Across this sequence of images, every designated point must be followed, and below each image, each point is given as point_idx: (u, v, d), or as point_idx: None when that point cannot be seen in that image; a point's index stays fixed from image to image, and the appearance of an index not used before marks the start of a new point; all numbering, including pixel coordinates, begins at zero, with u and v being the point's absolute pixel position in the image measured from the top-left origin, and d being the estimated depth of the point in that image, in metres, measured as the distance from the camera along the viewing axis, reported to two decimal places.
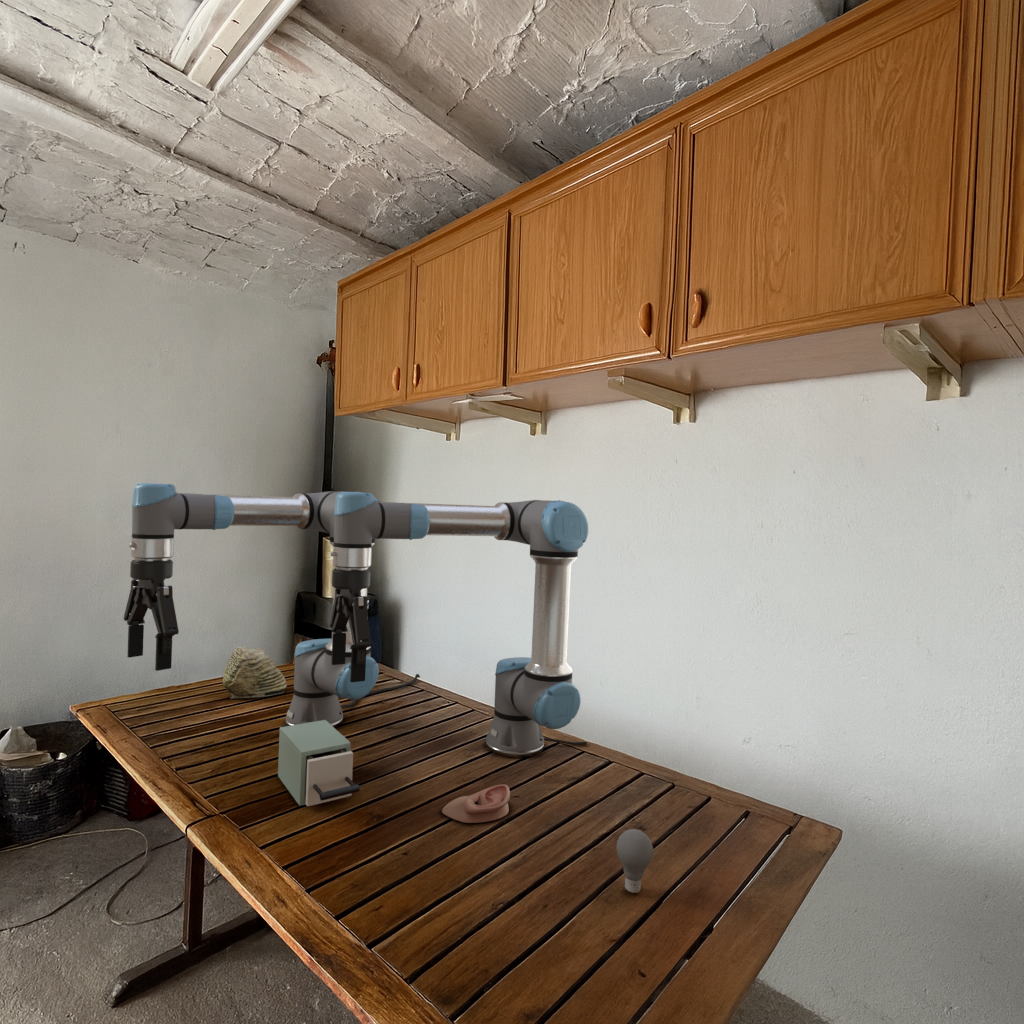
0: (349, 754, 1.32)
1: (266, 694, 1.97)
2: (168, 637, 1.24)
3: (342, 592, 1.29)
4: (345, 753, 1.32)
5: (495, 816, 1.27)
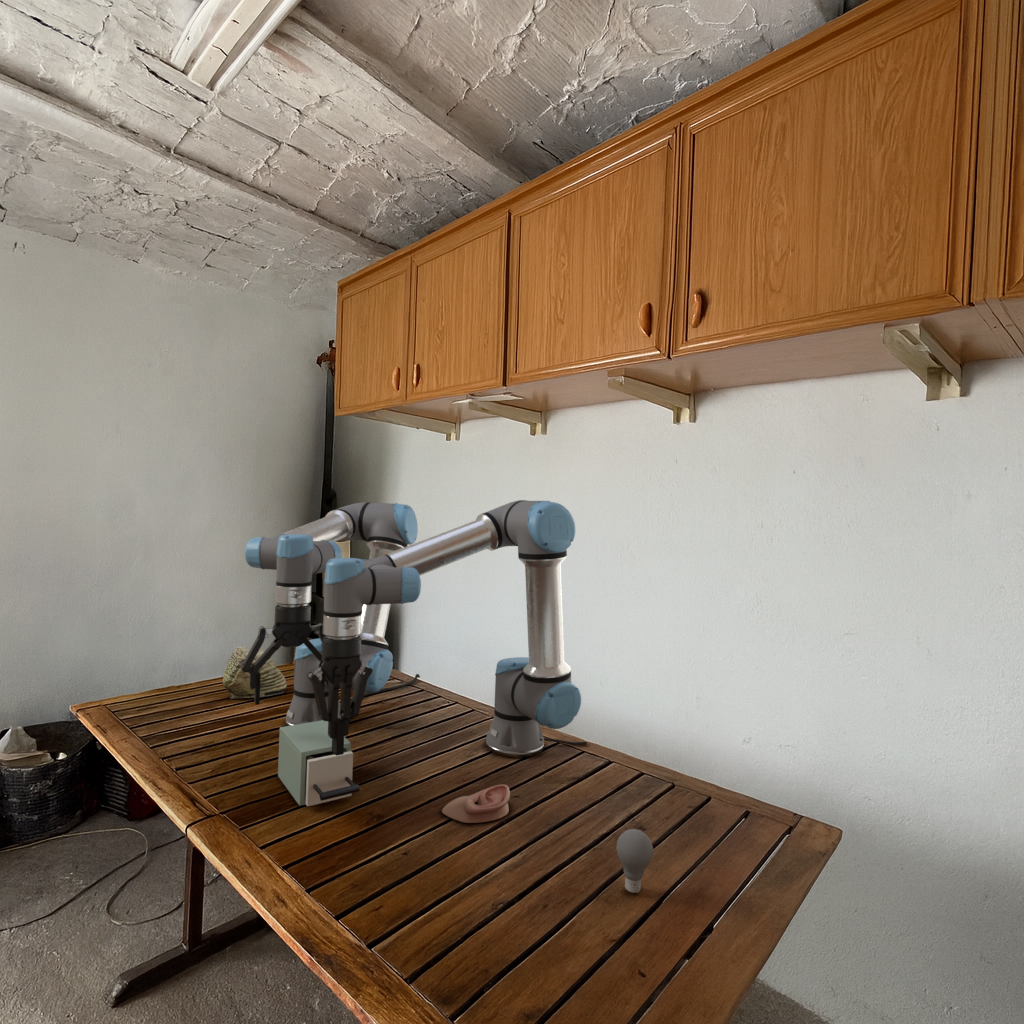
0: (349, 754, 1.32)
1: (266, 694, 1.97)
2: None
3: (333, 663, 1.25)
4: (345, 753, 1.32)
5: (495, 816, 1.27)
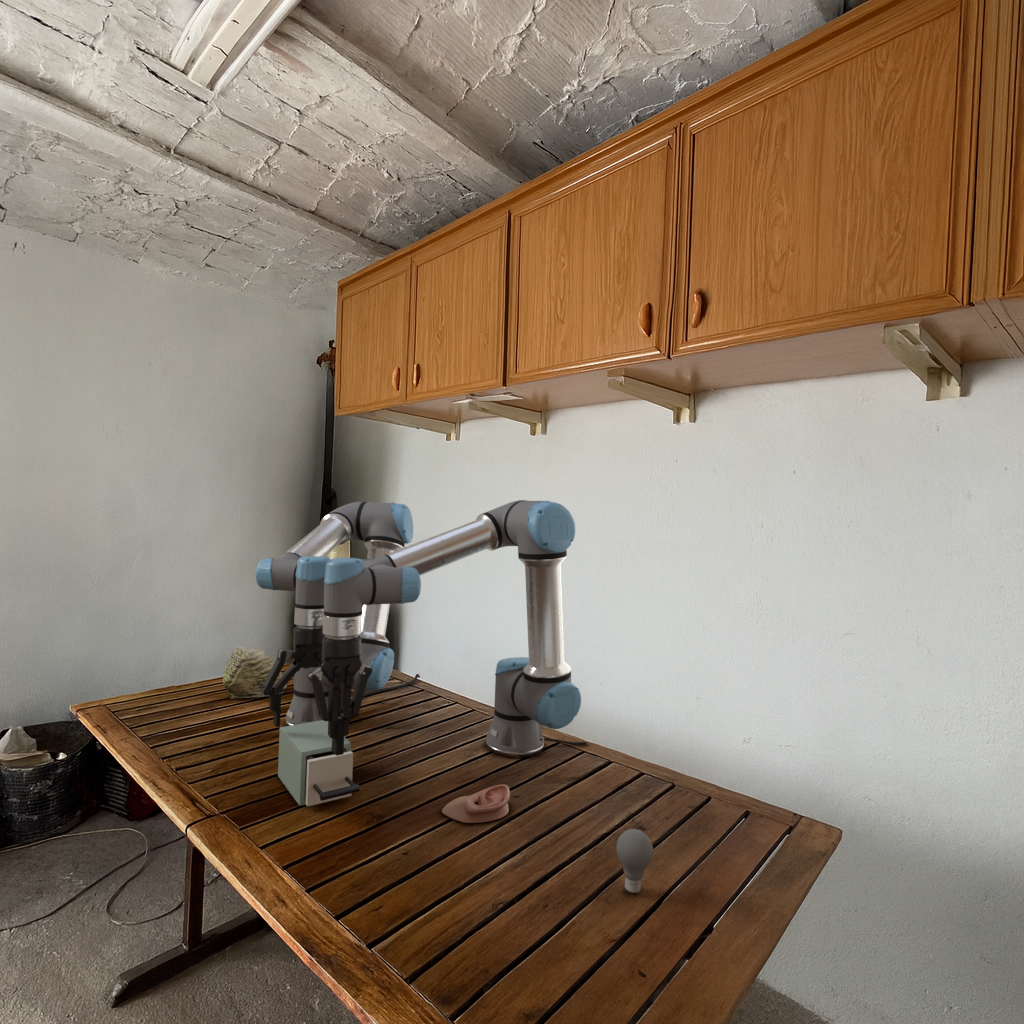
0: (349, 754, 1.32)
1: None
2: None
3: (333, 663, 1.25)
4: (345, 753, 1.32)
5: (495, 816, 1.27)
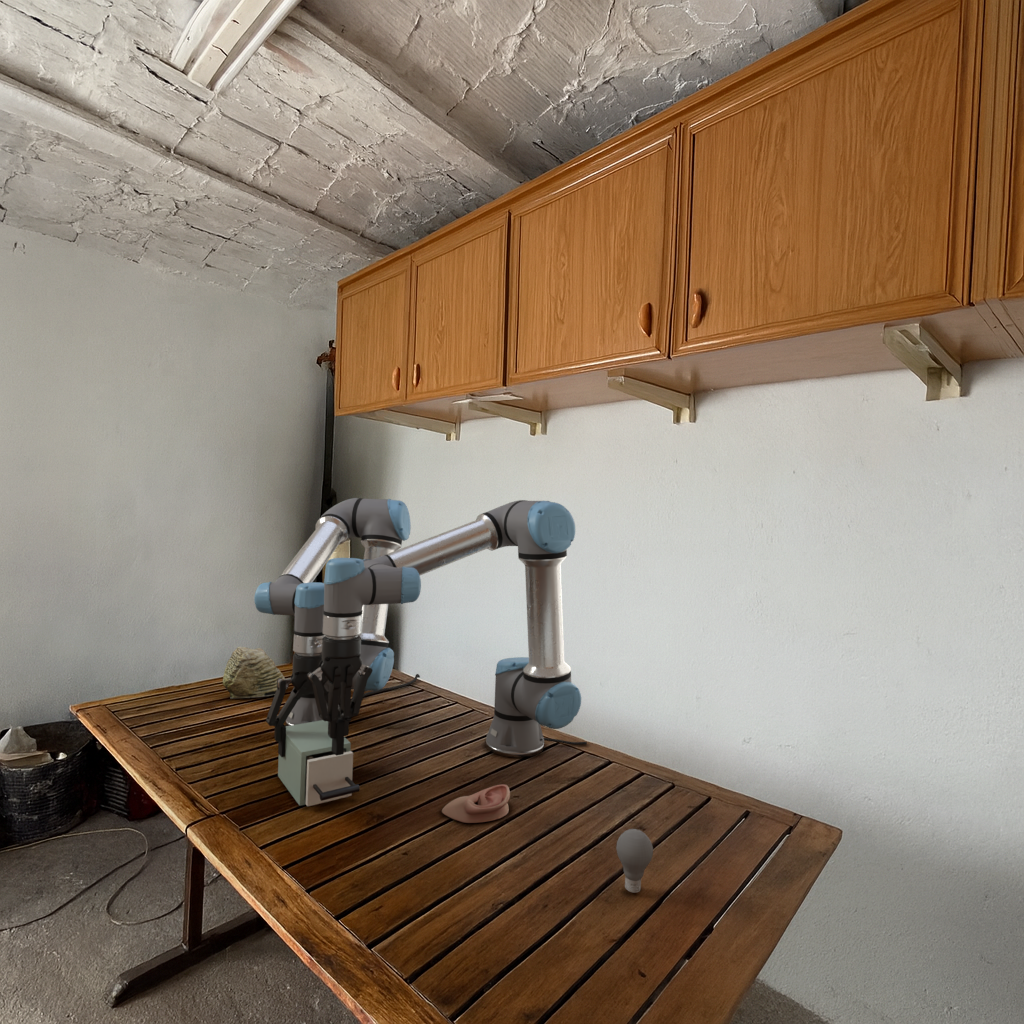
0: (349, 754, 1.32)
1: (266, 694, 1.97)
2: None
3: (333, 663, 1.25)
4: (345, 753, 1.32)
5: (495, 816, 1.27)
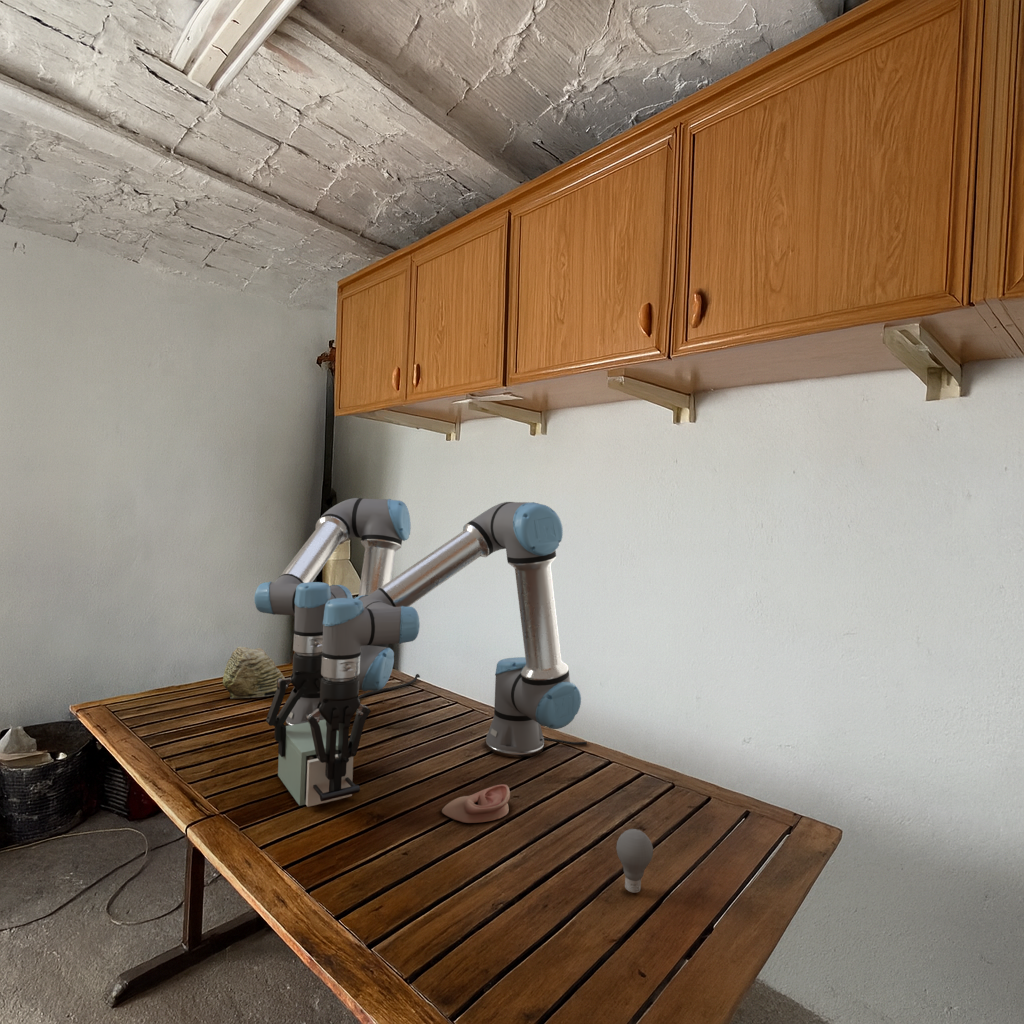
0: None
1: (266, 694, 1.97)
2: None
3: (331, 705, 1.25)
4: None
5: (495, 816, 1.27)
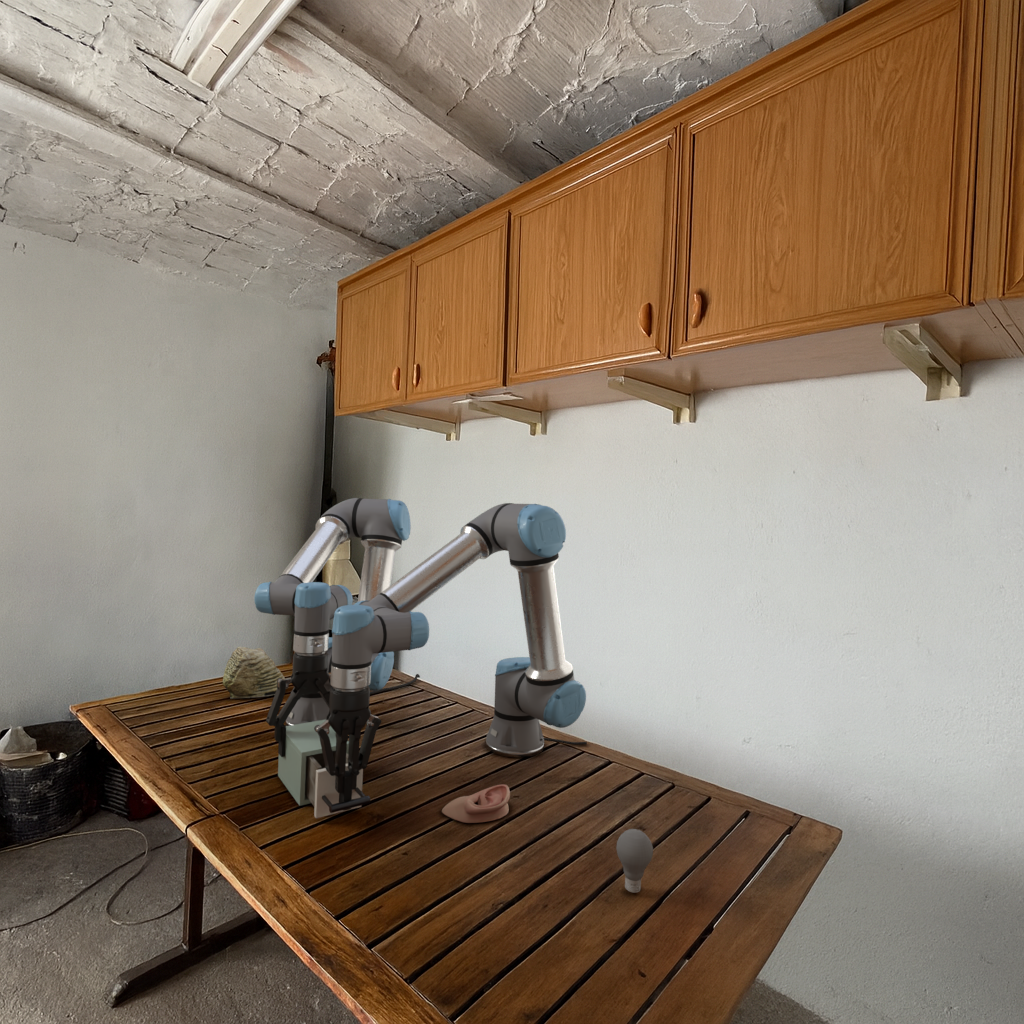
0: None
1: (266, 694, 1.97)
2: None
3: (341, 716, 1.20)
4: None
5: (495, 816, 1.27)
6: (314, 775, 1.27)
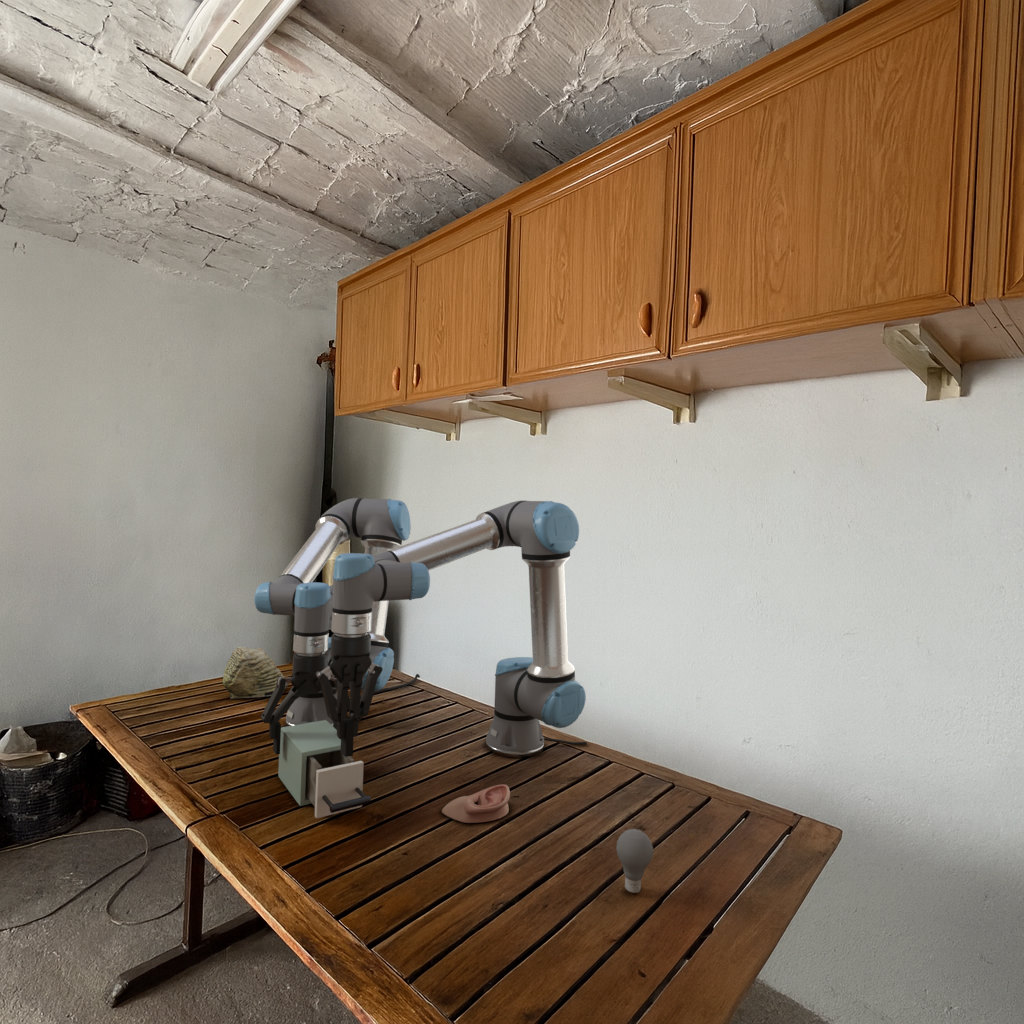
0: (359, 764, 1.28)
1: (266, 694, 1.97)
2: None
3: (342, 662, 1.21)
4: (355, 763, 1.28)
5: (495, 816, 1.27)
6: (314, 775, 1.27)
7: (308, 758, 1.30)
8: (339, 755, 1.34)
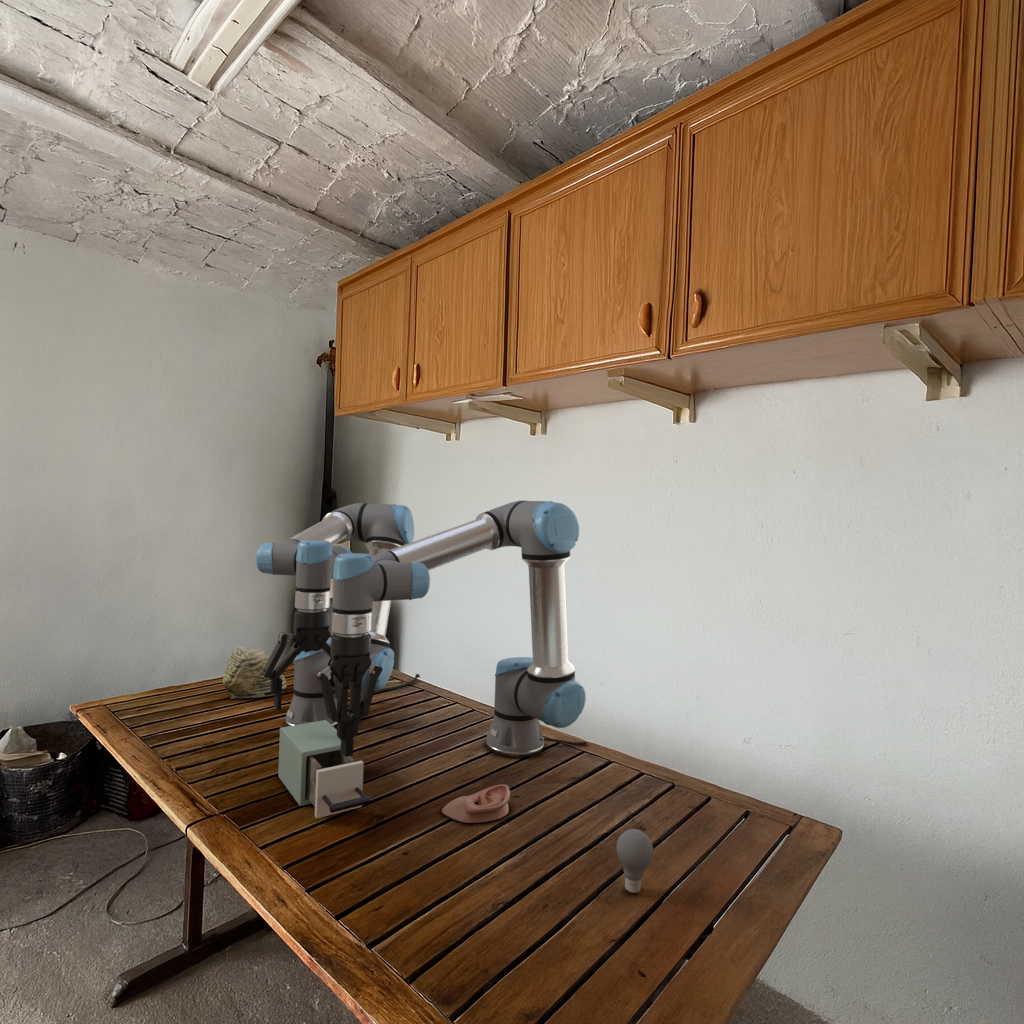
0: (359, 764, 1.28)
1: (266, 694, 1.97)
2: None
3: (342, 662, 1.21)
4: (355, 763, 1.28)
5: (495, 816, 1.27)
6: (314, 775, 1.27)
7: (308, 758, 1.30)
8: (339, 755, 1.34)
